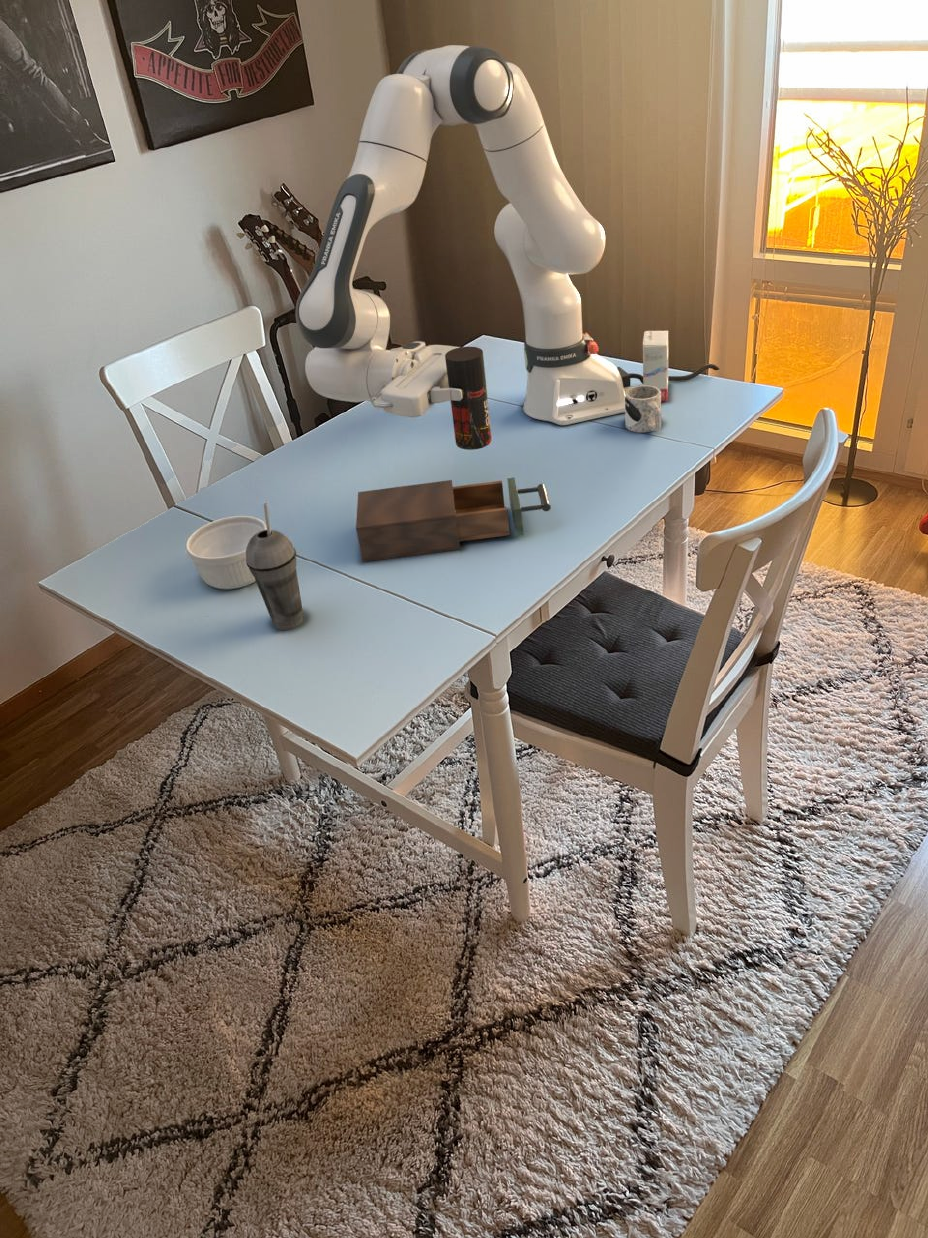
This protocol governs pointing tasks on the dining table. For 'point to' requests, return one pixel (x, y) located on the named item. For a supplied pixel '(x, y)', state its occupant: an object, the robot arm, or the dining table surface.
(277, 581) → the beverage cup
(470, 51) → the robot arm
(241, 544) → the ramekin
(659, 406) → the mug
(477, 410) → the deodorant
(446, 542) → the cabinet
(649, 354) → the ink box
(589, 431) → the dining table surface
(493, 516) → the drawer
